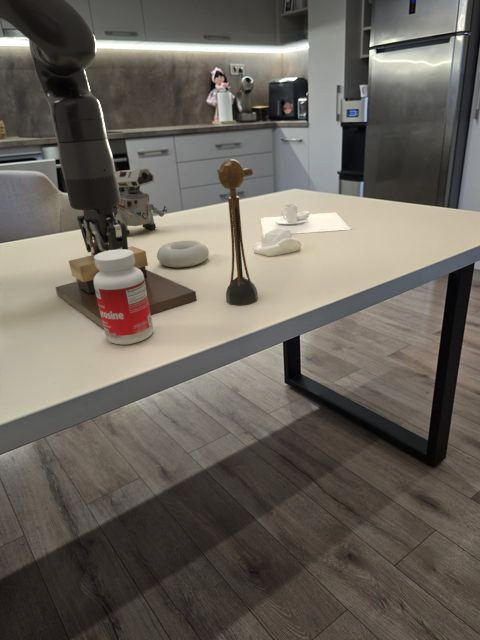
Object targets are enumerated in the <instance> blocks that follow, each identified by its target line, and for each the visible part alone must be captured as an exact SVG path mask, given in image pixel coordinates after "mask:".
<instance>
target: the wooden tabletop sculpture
mask: <svg viewBox="0 0 480 640" xmlns="http://www.w3.org/2000/svg"><path fill="white" fill-rule="evenodd" d="M253 174H254V171H253V169H252V168H251V167H247V168H244V167H243V166H242V164H241V162H239V161H238V160H236V159H231V158H229V159H227V160H224V161H223V162H222V163H221V164H220V167H219V169H218V181H219V183H220V185H221V186H222V187H223V188H224V189H226V190H229V194H230V196H228V197H227V201H228V213H229V224H230V237H231V238H230V239H231V274H230V282H229V285H228V286H227V288H226V292H225V301H226V303H228V304H229V305H232V306H247V305H251V304H254V303H256V302H257V301H258V299H259V293H258V290H257V287H256V285H255V284H254V283H253V282H252V280H251V278H250V274H249V270H248V267H247V266H248V265H247V260H246V256H245V249H244V242H243V231H242V220H241V208H240V207H241V206H240V196H239V195H237V189H238V188H240V187H241V186H242V184H243V183H244V179H245V178H246V177H252V176H253ZM235 263H236V265H235ZM235 266H236V275H237V276H236V277H235V278H234V274H235V273H234V272H235ZM243 268H244V271H245V276H246V277H245V276H244V273H243V272H244V271H243Z"/></svg>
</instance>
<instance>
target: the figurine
mask: <svg viewBox="0 0 480 640" xmlns="http://www.w3.org/2000/svg"><path fill="white" fill-rule="evenodd" d="M116 176H117V181H118V186H119V188H123V190H124V191H122V192H120V197H121V202H120V204H118V205H116V206H113V208H112V209H116V212H117V213H116V214H115V215H114V216H115V218H116V220H117V223H118V224H119V223H124V224H125V226H126V233H127V237H129V236H130V235H131V233H130V229H129V228H128V227H138V226H139V227H140V226H142V228H144V229H145V230H149V231H155V230H156V229H157V226H156V223H155V219H154V216H153V214H157V215H158V216H159V217H164V216H165V213H164V212H166V213H167V212H168V209H167V206H166V205H164V206H163V209H162V210H159V209H158V207H155V205H154V203H153V204H152V203H151V201H150V194H148V193H146V192H143V191H142V190H141V186H145V185H148V184H152V183H154V182H155V175H154V174H153V173H152V172H151V171H150V170H149V168H147V167H146V168H136V169H125V170H118V171H117V170H116ZM150 203H151V204H150ZM152 212H153V213H152Z"/></svg>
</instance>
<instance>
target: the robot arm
mask: <svg viewBox="0 0 480 640" xmlns="http://www.w3.org/2000/svg"><path fill="white" fill-rule="evenodd" d="M0 21H1V22H6V23H8V24H9V25H11V27H13V28H14V29H16V30H17V31H18V32H19V33H21V34H22V35H23V36H24V37H25V38H27V39H28V44H29V45H28V46H29V52H30V56H31V57H30V58H31V60H32V65H33V68H34V71H35V73H36V76H37V79H38V81H39V84H40V87H41V89H42V93H43V94H44V97H45V100H46V102H47V104H48V106H49V110H50V111H49V112H50V117H51V121H52V126H53V130H54V135H55V139H56V142H57V149H58V159H59V164H60V168H61V172H62V177H63V180H64V185H65V189H66V193H67V197H68V202H69V205H70V208H71V209H73V210H76V211H83V214H82V215H78V216H77V219H76V220H77V221H78V225H79V228H80V232H81V235H82V239H83V242H84V245H85V248H86V252H87V253H90V254H91V255H90V256H92V255H96V254H98V253H101V252H104V251H109V250H118V249H126V250H128V247H129V246H128V244H129V243H128V236H127V233H126V226H125V224H124V223H119V224H118V223H117V220H116V218H115V216H116V215H115V213H114V211H113V209H114V208H113V206H116V205H118V204H120V202H121V197H120V193H121V191H120V187H119V186H118V181H117V176H116V172H117V170H116V165H115V161H114V156H113V153H112V149H111V146H110V143H109V140H108V134H107V129H106V124H105V119H104V113H103V108H102V105H101V103H100V101H99V99H98V98H97V97H96V96H95V95H94V94H92V91H91V89H90V85H89V82H88V77H87V74H86V71H85V70H87V69H88V68H89V67H90V66H91V65H92V64H93V63H94V61H95V58H96V56H97V51H98V50H97V49H98V48H97V40H96V36H95V34H94V32H93V29H92V28H91V26H90V25H89V23H88V22H87V20H86V18H85V17H83V15H82V14H81V13H80V12H79V11H78V10H77V9H76V8H75V7H74V6H73V5H72V4H71V3H70V2H68V1H67V0H0ZM116 207H117V206H116Z"/></svg>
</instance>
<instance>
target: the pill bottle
mask: <svg viewBox="0 0 480 640" xmlns="http://www.w3.org/2000/svg"><path fill="white" fill-rule="evenodd" d="M94 259H95V266H96V267H97V269H98V270H99V272H98V273H97V274H96V275H95V277H94V281H93V282H94V288H95V292H96V296H97V301H98V305H99V310H100V314H101V318H102V323H103V327H104V329H103V331H104V336H105V338H106V340H107V341H108V342H110V343H112V344H115V345H132V344H137V343H139V342H142V341H145V340H147V339H148V338H149V337H150V336H151V335H153V331H154V325H153V320H152V315H151V314H150V308H149V302H148V297H147V291H146V285H145V279H144V275H143V273H142V271H141V270H140V269H138V268H136V267H134V264H135V258H134V254H133V251H131V250H126V249H122V248H121V249H118V250H109V251H104V252H101V253H98V254H96V255H95V256H94Z"/></svg>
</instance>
